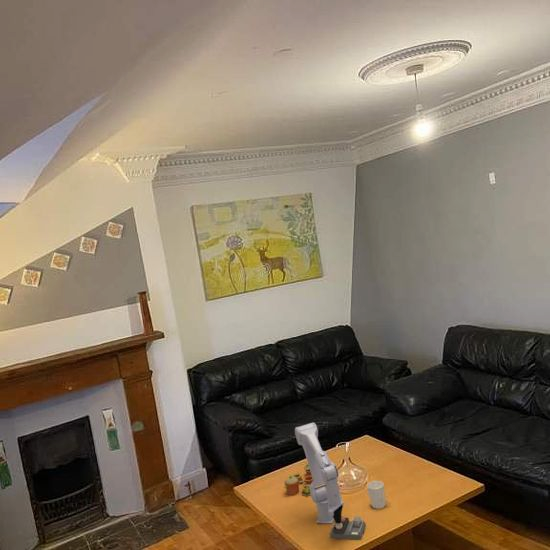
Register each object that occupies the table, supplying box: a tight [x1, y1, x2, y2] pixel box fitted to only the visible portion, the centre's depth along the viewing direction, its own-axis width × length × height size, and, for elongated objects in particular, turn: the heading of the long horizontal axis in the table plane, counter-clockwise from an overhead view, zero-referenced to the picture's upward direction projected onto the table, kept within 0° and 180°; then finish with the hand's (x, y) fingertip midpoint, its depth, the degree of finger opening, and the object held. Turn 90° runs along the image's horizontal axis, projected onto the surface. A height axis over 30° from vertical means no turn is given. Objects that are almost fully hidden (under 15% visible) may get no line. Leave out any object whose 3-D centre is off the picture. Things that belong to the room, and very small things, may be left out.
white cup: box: [366, 480, 387, 510], centre depth 249 cm, size 8×8×10 cm
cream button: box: [334, 523, 343, 530], centre depth 230 cm, size 3×3×2 cm
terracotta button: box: [341, 515, 346, 523], centre depth 235 cm, size 3×3×2 cm
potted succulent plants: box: [283, 462, 313, 497], centre depth 282 cm, size 26×16×10 cm, turn 169°
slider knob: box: [352, 516, 363, 527], centre depth 232 cm, size 3×3×3 cm
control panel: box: [329, 517, 367, 540], centre depth 232 cm, size 10×14×4 cm
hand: (338, 522), depth 230 cm, fingers closed
